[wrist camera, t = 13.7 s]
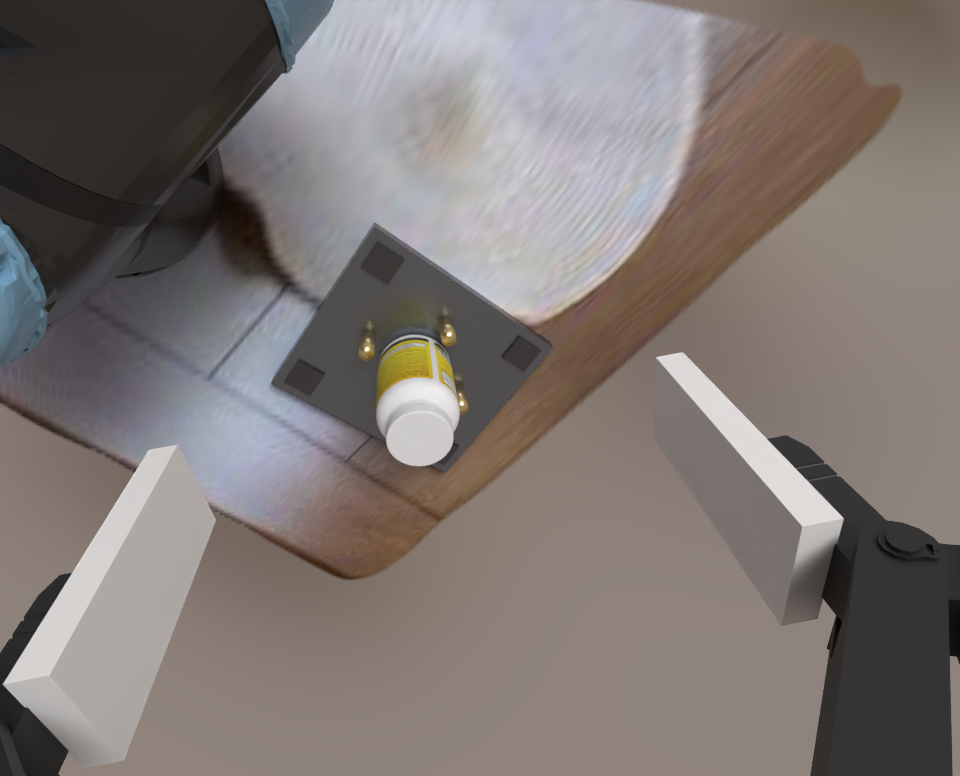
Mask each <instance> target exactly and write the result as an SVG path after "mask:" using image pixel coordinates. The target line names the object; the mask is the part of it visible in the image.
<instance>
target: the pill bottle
mask: <svg viewBox="0 0 960 776" xmlns="http://www.w3.org/2000/svg"><path fill="white" fill-rule="evenodd" d="M459 417H460V409H459V402H458V398H457V392H456V387H455V382H454V377H453V371H452V366H451V362H450V358H449V356H448V353H447V352H446V350H445V349H444V348H443V346H442V345H441V344H440V343H438V342H437V341H435V340H434V339H432V338H429V337H426V336H423V335H407V336H403V337H400V338H398V339H396V340H394V341H393V342H391V343H390V344H389V345H388V346H387V347H386V348H385V349H384V351H383V352H382V354H381V356H380V358H379V362H378V368H377V397H376V420H377V425H378V427H379V430H380V432H381V433H382V435H383V436H384V437H385V438H386V444H387V448H388V450H389V452H390V453H391V455H392V456H393V457H394V458H395V459H397V460H398V461H400V462H402V463H404V464H407V465H411V466H427V465H431V464H433V463H436V462H438V461H439V460H441V459H442V458H443V457H445V456H446V455H447V453H448V452H449V451H450V449H451V447H452V444H453V439H454V435H453V433H454V431H455V430H456V428H457V425H458V422H459Z"/></svg>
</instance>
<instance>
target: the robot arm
mask: <svg viewBox="0 0 960 776" xmlns="http://www.w3.org/2000/svg"><path fill="white" fill-rule="evenodd" d="M333 2H334V0H0V366H2V365H3V364H5V363H6V362H8V361H13V360H16V359H19V358H20V356H23V355H26V354H28V353H29V352H30V351H31V350H33V349H34V348H35V347H36V346H37V345H38V344H39V342H40V340H41V339H42V337H43V335H44V334H45V332H47V331H48V330H49V329H50V328H52V327H53V326H54V325H55V324H57V323H58V322H59V321H61V320H62V319H63V318H64V317H66V316H67V315H68V314H69V313H71V312H72V311H73V310H74V309H76V308H77V307H78V306H80V305H81V304H82V303H83V302H85V301H86V300H87V299H88V298H90V297H91V296H92V295H93V294H95V293H96V292H97V291H99V290H100V289H101V288H102V287H104V286H105V285H106V284H107V283H109V282H110V281H111V280H112V279H114V278H128V277H138V276H144V275H148V274H152V273H155V272H158V271H161V270H163V269H166V268H168V267H170V266H172V265H174V264H176V263H177V262H179V261H180V260H182V259H183V258H184V257H186V256H187V255H188V254H189V253H190V252H191V251H192V250H193V249H195V248H196V247H197V246H198V245H199V244H200V243H201V242H202V240H203V239H204V238H205V237H206V236H207V234H208V233H209V231H210V230H211V228H212V226H213V224H214V222H215V220H216V218H217V215H218V212H219V209H220V205H221V200H222V193H223V173H222V165H221V160H220V156H219V152H218V148H217V147H218V145H219V144H220V143H221V142H222V141H223V140H224V139H225V138H226V136H227V135H228V134H229V133H230V132H231V131H232V130H233V128H234V127H235V126H236V125H237V124H238V123H239V122H240V121H241V119H242V118H243V117H244V116H245V115H246V114H247V113H248V111H249V110H250V109H251V108H252V107H253V106H254V105H255V103H256V102H257V101H258V100H259V99H260V98H261V97H262V96H263V94H264V93H265V92H266V91H267V90H268V89H269V88H270V86H271V85H272V84H273V83H274V82H275V81H276V80H277V78H278V77H279V76H280V75H281V74H282V73H283V74H286V73H288V72H289V71H290V70H291V69H292V65H293V64H294V63H295V55H296V54H297V53H298V51H299V50H300V49H301V48H302V46H303V45H304V44H305V42H306V41H307V40H308V39H309V37H310V36H311V35H312V34H313V32H314V31H315V30H316V28H317V27H318V26H319V25H320V23H321V22H322V21H323V19H324V18H325V17H326V16H327V14H328V13H329V11H330V9H331V7H332V5H333ZM654 439H655V440H656V442H657V443H658V445H659V446H660V448H661V449H662V451H663V452H664V453H665V455H666V456H667V458H668V459H669V461H670V462H671V464H672V465H673V467H674V468H675V470H676V471H677V473H678V474H679V476H680V477H681V478H682V480H683V481H684V483H685V484H686V486H687V487H688V489H689V490H690V492H691V493H692V495H693V496H694V498H695V499H696V501H697V502H698V504H699V505H700V507H701V508H702V510H703V511H704V512H705V514H706V515H707V517H708V518H709V520H710V521H711V523H712V524H713V526H714V527H715V529H716V530H717V532H718V533H719V535H720V536H721V537H722V539H723V541H724V542H725V543H726V545H727V546H728V548H729V549H730V551H731V552H732V554H733V555H734V557H735V558H736V560H737V561H738V563H739V564H740V566H741V567H742V569H743V570H744V572H745V573H746V574H747V576H748V577H749V579H750V580H751V582H752V583H753V585H754V586H755V588H756V589H757V591H758V592H759V594H760V595H761V597H762V598H763V600H764V601H765V603H766V604H767V606H768V607H769V608H770V610H771V611H772V613H773V614H774V616H775V617H776V619H777V620H778V622H779V623H780V625H781V626H783V625H788V624H792V623H798V622H803V621H808V620H813V619H817V618H818V615H819V611H820V608H821V604H822V600H823V599H824V600H825V602H826V603H827V604H828V605H829V607H830V608H831V609H832V610H833V612H834V613H835V614H836V618H835V621H834V625H833V628H832V632H831V635H830V639H829V642H828V646H827V649H828V650H830V651H829V657H828V664H827V671H826V677H825V684H824V690H823V697H822V703H821V710H820V716H819V723H818V730H817V736H816V743H815V749H814V756H813V762H812V769H811V775H810V776H952V736H951V699H950V698H951V693H950V656H956V657H957V658H958V661H959V664H960V545H949V544H948V545H947V544H940V543H938V542H937V541H936V540H935V539H934V538H933V537H932V536H930V535H929V534H927V533H925V532H924V531H922V530H920V529H919V528H916V527H913V526H910V525H907V524H904V523H900V522H893V521H887V520H885V519H884V518H883V517H882V516H881V515H880V514H879V513H878V512H877V511H876V510H875V509H874V508H873V507H872V506H871V505H870V504H869V503H867V502H866V501H865V500H864V499H863V498H862V497H861V496H860V495H859V494H858V493H857V492H856V491H855V490H854V489H853V488H852V487H851V486H849V485H848V484H847V483H846V482H845V481H844V480H843V479H842V478H841V477H838V476H837V473H836V472H835V471H834V470H833V469H831V468H830V467H829V466H828V465H827V464H826V465H825V464H824V461H823V460H822V459H821V458H820V457H819V456H818V455H817V454H816V453H815V452H814V451H813V450H811V449H810V448H809V447H808V446H806V445H804V444H802V443H800V442H798V441H796V440H794V439H792V438H790V437H789V436H781V437H775V438H771V439H766V438H765V437H764V436H763V435H762V434H761V433H760V431H759V430H758V429H756V427H755V426H754V425H753V424H752V423H751V422H750V421H749V420H748V419H747V418H746V417H745V416H744V415H743V414H742V413H741V412H740V411H739V410H738V409H737V408H736V407H735V406H734V405H733V404H732V403H731V402H730V401H729V400H728V398H727V397H726V396H725V395H724V394H723V393H722V392H721V391H720V390H719V389H718V388H717V387H716V386H715V385H714V384H713V383H712V382H711V381H710V380H709V379H708V378H707V377H706V376H705V375H704V374H703V373H702V372H701V371H700V370H699V369H698V368H697V366H696V365H695V364H694V363H693V362H692V361H691V360H690V359H689V358H688V357H687V356H686V355H685V354H684V353H677V354H671V355H665V356H660V357H656V373H655V410H654ZM215 521H216V519H215V517H214V515H213V513H212V511H211V509H210V507H209V505H208V503H207V501H206V499H205V497H204V495H203V493H202V491H201V489H200V487H199V485H198V483H197V481H196V479H195V477H194V476H193V474H192V472H191V470H190V468H189V466H188V464H187V462H186V460H185V458H184V456H183V454H182V452H181V450H180V448H179V446H178V445H172V446H167V447H161V448H156V449H150V450H148V452H147V454H146V455H145V457H144V458H143V460H142V462H141V463H140V465H139V467H138V468H137V470H136V471H135V473H134V475H133V476H132V478H131V479H130V481H129V483H128V484H127V486H126V487H125V489H124V491H123V492H122V494H121V495H120V497H119V499H118V500H117V502H116V503H115V505H114V507H113V508H112V510H111V512H110V513H109V515H108V516H107V518H106V520H105V521H104V523H103V525H102V526H101V528H100V529H99V531H98V532H97V534H96V536H95V537H94V539H93V541H92V542H91V544H90V545H89V547H88V549H87V550H86V552H85V553H84V555H83V557H82V558H81V560H80V561H79V563H78V565H77V566H76V568H75V569H74V571H73V573H69V574H63V575H60V576H58V577H57V578H56V579H55V580H54V581H53V582H52V583H51V584H50V585H49V586H48V587H47V588H46V589H45V590H44V591H43V592H42V593H41V594H39V595H38V597H37V598H36V600H35V601H34V603H33V604H32V606H31V607H30V609H29V610H28V612H27V613H26V615H25V616H24V621H21V622H20V624H19V625H18V627H17V629H16V630H15V632H14V633H13V638H12V639H9V641H8V642H7V644H6V645H5V647H4V648H3V650H2V651H1V653H0V776H60V775H59V774H58V773H59V770H60V768H61V766H62V764H63V762H64V760H65V758H66V756H67V753H69V755H70V756H72V757H73V759H74V760H75V761H77V763H78V764H79V765H80V766H81V767H82V768H83V769H85V768H90V767H95V766H100V765H104V764H109V763H114V762H119V761H124V758H125V755H126V753H127V750H128V748H129V745H130V743H131V740H132V738H133V735H134V732H135V730H136V727H137V724H138V721H139V719H140V717H141V714H142V712H143V709H144V706H145V704H146V701H147V698H148V696H149V693H150V691H151V688H152V685H153V683H154V680H155V678H156V675H157V672H158V670H159V667H160V665H161V662H162V659H163V657H164V654H165V651H166V649H167V646H168V644H169V641H170V639H171V636H172V633H173V631H174V628H175V626H176V623H177V620H178V617H179V615H180V613H181V610H182V607H183V604H184V602H185V600H186V597H187V594H188V592H189V589H190V587H191V584H192V581H193V579H194V576H195V574H196V571H197V568H198V566H199V563H200V560H201V558H202V555H203V553H204V550H205V547H206V545H207V542H208V540H209V537H210V534H211V532H212V529H213V527H214V524H215Z"/></svg>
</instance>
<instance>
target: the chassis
mask: <svg viewBox="0 0 960 776" xmlns="http://www.w3.org/2000/svg"><path fill="white" fill-rule="evenodd" d="M407 335H423V336H426V337H429V338H432V339H434V340H435V341H437V342H438V343H440V344H441V345H442V346H443V348H444V349H445V350H446V352H447V353H448V356H449V358H450V362H451V366H452V371H453V377H454V382H455V387H456V392H457V398H458V402H459V409H460V417H459V422H458V425H457V428H456V430H455V431H454V433H453V435H454V439H453V444H452V447H451V449H450V451H449V452H448V453H447V455H446V456H445V457H443V458H442V459H441V460H439V461H438V462H436V463H433V464H431V465H432V466H433V467H435V468H437V469H439V470H441V471H443V472H445V473H446V472H447V471H448V470H449V469H450V467H451V466H452V465H453V464H454V463H455V462H456V460H457V459H458V458H459V457H460V456H461V454H462V453H463V452H464V451H465V450H466V449H467V447H468V446H469V445H470V444H471V443H472V442H473V440H474V439H475V438H476V437H477V436H478V435H479V433H480V432H481V431H482V430H483V429H484V428H485V426H486V425H487V424H488V423H489V422H490V421H491V419H492V418H493V417H494V416H495V415H496V414H497V412H498V411H499V410H500V409H501V408H502V407H503V405H504V404H505V403H506V402H507V401H508V400H509V398H510V397H511V396H512V395H513V394H514V393H515V391H516V390H517V389H518V388H519V387H520V386H521V384H522V383H523V382H524V381H525V380H526V379H527V377H528V376H529V375H530V374H531V373H532V372H533V370H534V369H535V368H536V367H537V366H538V365H539V363H540V362H541V361H542V360H543V359H544V358H545V356H546V355H547V354H548V353H549V352H550V351H551V349H552V348H553V347H552V345H551V343H550V341H548V340H547V339H545V338H544V337H542V336H541V335H539V334H538V333H536V332H535V331H533V330H532V329H530V328H529V327H528V326H526V325H525V324H523V323H522V322H520V321H519V320H517V319H516V318H514V317H513V316H511V315H510V314H508V313H507V312H505V311H504V310H503V309H501V308H500V307H498V306H497V305H495V304H494V303H492V302H491V301H489V300H488V299H486V298H485V297H483V296H482V295H481V294H479V293H478V292H476V291H475V290H473V289H472V288H470V287H469V286H467V285H466V284H464V283H463V282H461V281H460V280H458V279H457V278H456V277H454V276H453V275H451V274H450V273H448V272H447V271H445V270H444V269H442V268H441V267H439V266H438V265H436V264H435V263H434V262H432V261H431V260H429V259H428V258H426V257H425V256H423V255H422V254H420V253H419V252H417V251H416V250H414V249H413V248H411V247H410V246H409V245H407V244H406V243H404V242H403V241H401V240H400V239H398V238H397V237H395V236H394V235H392V234H391V233H389V232H388V231H387V230H385V229H384V228H382V227H381V226H379V225H378V224H376V223H374V224H373V226H372V227H371V229H370V230H369V232H368V234H367V235H366V237H365V238H364V240H363V241H362V243H361V244H360V246H359V247H358V249H357V250H356V252H355V253H354V255H353V256H352V258H351V259H350V261H349V262H348V264H347V266H346V267H345V269H344V270H343V272H342V273H341V275H340V276H339V278H338V279H337V281H336V282H335V284H334V285H333V287H332V288H331V290H330V291H329V293H328V294H327V296H326V298H325V299H324V301H323V302H322V304H321V305H320V307H319V308H318V310H317V311H316V313H315V314H314V316H313V317H312V319H311V320H310V322H309V323H308V325H307V326H306V328H305V330H304V331H303V333H302V334H301V336H300V337H299V339H298V340H297V342H296V343H295V345H294V346H293V348H292V349H291V351H290V352H289V354H288V355H287V357H286V358H285V360H284V361H283V363H282V365H281V366H280V368H279V369H278V371H277V372H276V374H275V375H274V377H273V380H272V382H271V384H273V385H275V386H277V387H279V388H281V389H283V390H285V391H287V392H289V393H291V394H293V395H295V396H297V397H299V398H301V399H303V400H304V401H306V402H308V403H310V404H312V405H314V406H316V407H318V408H320V409H322V410H324V411H326V412H328V413H330V414H332V415H334V416H336V417H338V418H340V419H342V420H344V421H346V422H347V423H349V424H351V425H353V426H355V427H357V428H359V429H361V430H363V431H365V432H367V433H369V434H371V435H373V436H375V437H377V438H379V439H381V440H383V441H385V442H386V438H385V437H384V436H383V435H382V433H381V432H380V430H379V427H378V425H377V420H376V397H377V368H378V362H379V358H380V356H381V354H382V352H383V351H384V349H385V348H386V347H387V346H388V345H389V344H390V343H391V342H393V341H394V340H396V339H398V338H400V337H403V336H407Z"/></svg>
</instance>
